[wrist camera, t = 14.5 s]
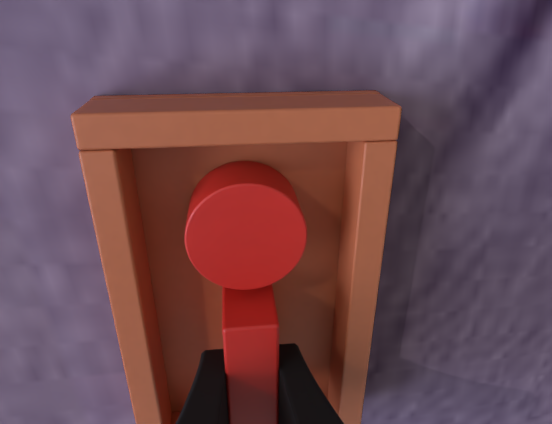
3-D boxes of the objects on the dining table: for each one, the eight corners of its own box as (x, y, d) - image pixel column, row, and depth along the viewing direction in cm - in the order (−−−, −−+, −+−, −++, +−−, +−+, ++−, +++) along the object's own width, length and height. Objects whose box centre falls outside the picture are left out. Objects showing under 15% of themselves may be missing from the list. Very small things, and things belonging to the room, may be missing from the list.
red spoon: (293, 384, 15) (305, 454, 13) (206, 392, 15) (203, 465, 12) (299, 157, 11) (318, 199, 9) (183, 161, 11) (173, 205, 9)
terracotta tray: (344, 401, 16) (358, 448, 15) (153, 419, 16) (144, 470, 14) (376, 90, 11) (403, 105, 9) (93, 95, 10) (68, 114, 9)
